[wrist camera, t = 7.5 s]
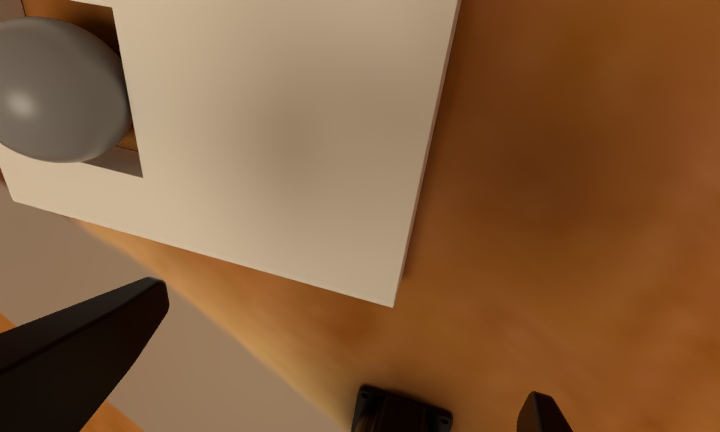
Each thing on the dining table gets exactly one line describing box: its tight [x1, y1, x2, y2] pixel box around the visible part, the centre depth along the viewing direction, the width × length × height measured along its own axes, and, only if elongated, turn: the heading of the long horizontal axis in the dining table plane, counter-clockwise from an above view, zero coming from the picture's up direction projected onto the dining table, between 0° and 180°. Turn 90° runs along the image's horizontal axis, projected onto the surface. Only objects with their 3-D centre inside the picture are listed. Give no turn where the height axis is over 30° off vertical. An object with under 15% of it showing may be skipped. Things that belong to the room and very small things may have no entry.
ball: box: [0, 16, 133, 163], centre depth 19 cm, size 6×6×6 cm
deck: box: [0, 0, 462, 308], centre depth 20 cm, size 16×24×2 cm, turn 84°
